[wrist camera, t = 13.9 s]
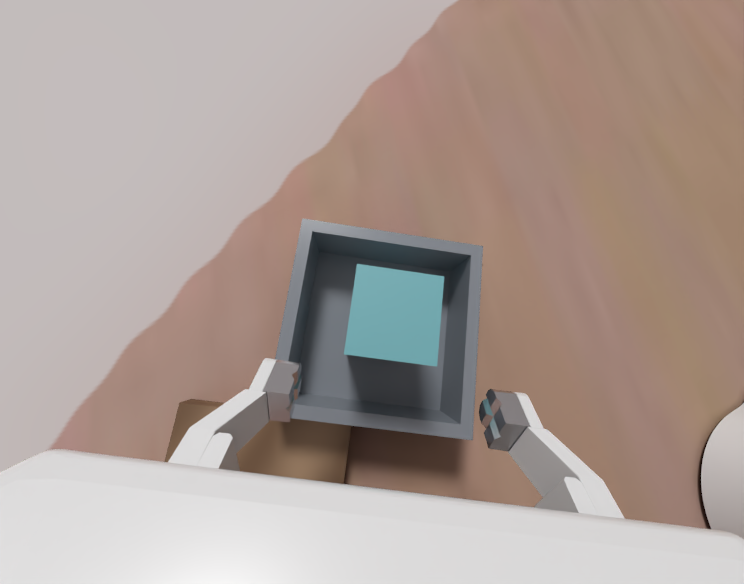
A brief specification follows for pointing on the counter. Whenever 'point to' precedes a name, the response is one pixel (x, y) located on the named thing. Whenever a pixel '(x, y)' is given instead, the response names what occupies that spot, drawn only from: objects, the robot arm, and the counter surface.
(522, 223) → the counter surface
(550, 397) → the counter surface
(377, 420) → the bin
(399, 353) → the strut
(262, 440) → the brown wooden lid
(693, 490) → the counter surface
